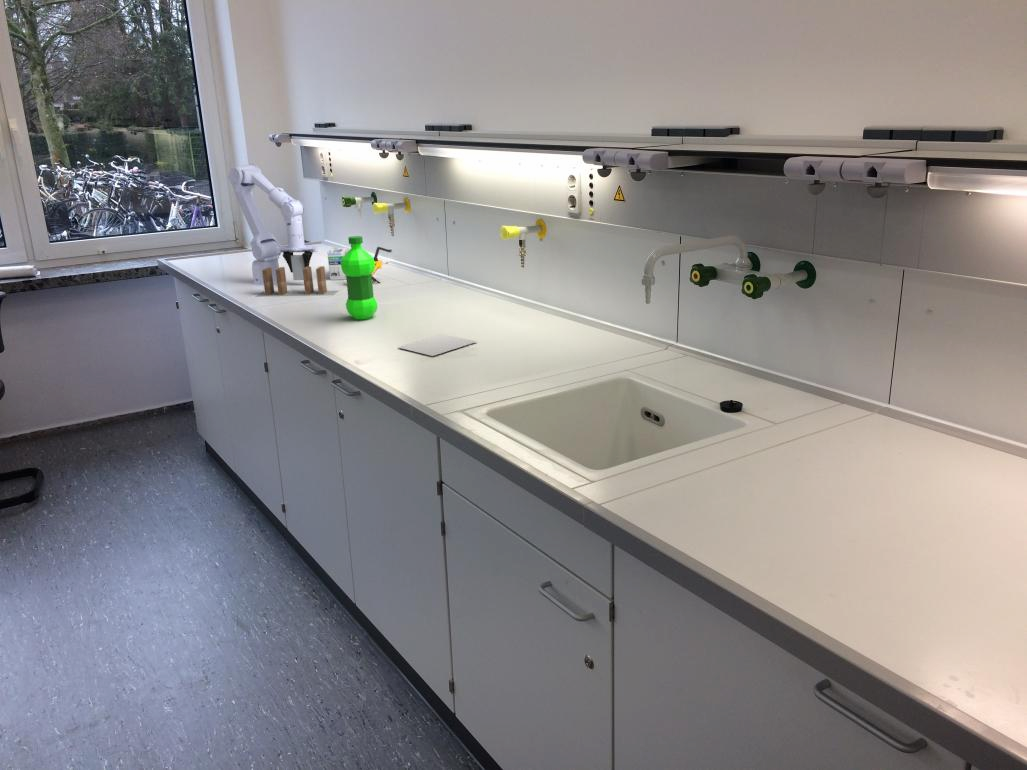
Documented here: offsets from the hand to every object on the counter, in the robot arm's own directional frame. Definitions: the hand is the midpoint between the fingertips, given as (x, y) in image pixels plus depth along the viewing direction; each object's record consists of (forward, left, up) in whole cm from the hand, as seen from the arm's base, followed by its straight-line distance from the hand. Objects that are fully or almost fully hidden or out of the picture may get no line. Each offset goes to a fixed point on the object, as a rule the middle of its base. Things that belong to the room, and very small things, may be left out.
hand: (299, 271), depth 310 cm
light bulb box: (+11, +16, -6) cm, 20 cm away
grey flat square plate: (+65, -88, -6) cm, 110 cm away
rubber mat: (+3, -14, -5) cm, 15 cm away
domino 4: (+12, -14, -5) cm, 19 cm away
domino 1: (-7, -14, -5) cm, 16 cm away
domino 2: (-2, -14, -5) cm, 15 cm away
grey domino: (0, 0, -3) cm, 3 cm away
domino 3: (+7, -14, -5) cm, 17 cm away
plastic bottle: (+35, -49, -6) cm, 61 cm away
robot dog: (+26, +2, -6) cm, 27 cm away
